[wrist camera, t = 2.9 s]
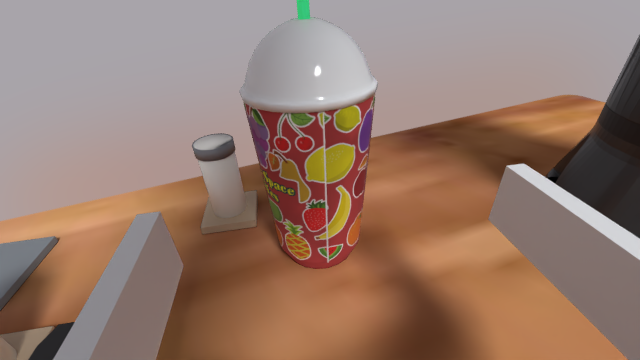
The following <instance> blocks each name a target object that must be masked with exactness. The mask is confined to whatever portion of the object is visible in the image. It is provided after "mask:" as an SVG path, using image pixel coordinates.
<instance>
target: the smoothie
mask: <svg viewBox="0 0 640 360" xmlns="http://www.w3.org/2000/svg"><path fill="white" fill-rule="evenodd" d="M297 10H298V18H296V19H291V20H289V21H287V22H285V23H283V24H281V25H279V26H278V27H276V28H275V29H273V30H272V31H270V32H269V33H268V34H267V35H266V36H265V37H264V38H263V39H262V40H261V42H260V43H259V45H258V46H257V48H256V49H255V51H254V53H253V55H252V57H251V59H250V62H249V65H248V70H247V73H246V78H245V83H244V85H243V86H242V87H241V89H240V94H241V97H242V99H243V101H244V106H245V111H246V115H247V118H248V122H249V126H250V130H251V134H252V138H253V142H254V145H255V149H256V153H257V157H258V161H259V165H260V169H261V172H262V176H263V180H264V184H265V188H266V192H267V196H268V200H269V203H270V207H271V211H272V215H273V219H274V223H275V227H276V230H277V234H278V238H279V242H280V244H281V247H282V249H283V250H284V251H285V252H286V253H287V254H288V255H289V256H290V257H291V258H292V259H293V260H294V261H295V262H296V263H298V264H300V265H302V266H304V267H309V268H314V269H320V268H329V267H332V266H334V265H337V264H339V263H341V262H342V261H343V260H345V259H346V258H347V257H348V255H349V254H350V252H351V251H352V250H353V249H354V247H355V246H356V244H357V243H358V240H359V235H360V227H361V218H362V209H363V201H364V192H365V183H366V174H367V165H368V156H369V147H370V138H371V130H372V120H373V112H374V103H375V92H376V90H377V85H378V82H377V81H376V79H375V78H374V76H372V75H371V72H370V69H369V66H368V64H367V61H366V59H365V56H364V54H363V53H362V51H361V49H360V48H359V46H358V45H357V43H356V42H355V41H354V40H353V39H352V38H351V36H350V35H349V34H348V33H346V32H345V31H344V30H343V29H341V28H340V27H338V26H336V25H334V24H333V23H330V22H328V21H325V20H322V19H319V18H315V17H310V10H309V0H297Z"/></svg>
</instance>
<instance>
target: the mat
mask: <svg viewBox="0 0 640 360" xmlns="http://www.w3.org/2000/svg"><path fill="white" fill-rule="evenodd" d="M57 242H58V240H57V239H56V237H55V236H54V237H46V238H39V239H32V240H25V241H17V242H10V243H3V244H0V310H1V309H2V308H3V307H4V306H5V304H6V303H7V302H8V301H9V300H10V298H11V297H12V296H13V295H14V294H15V292H16V291H17V290H18V289H19V288H20V286H21V285H22V284H23V283H24V282H25V280H26V279H27V278H28V277H29V276H30V274H31V273H32V272H33V271H34V270H35V268H36V267H37V266H38V265H39V264H40V262H41V261H42V260H43V259H44V258H45V256H46V255H47V254H48V253H49V252H50V250H51V249H52V248H53V247H54V246H55V244H56V243H57Z"/></svg>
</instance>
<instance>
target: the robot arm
mask: <svg viewBox="0 0 640 360" xmlns="http://www.w3.org/2000/svg"><path fill="white" fill-rule="evenodd" d="M488 220H489V221H490V222H491V223H492V224H493V225H494V226H495V227H496V228H497V229H498V230H499V231H500V232H501V233H502V234H503V235H504V236H505V237H506V238H507V239H508V240H509V241H510V242H511V243H512V244H513V245H514V246H515V247H516V248H517V249H518V250H519V251H520V252H521V253H522V254H523V255H524V256H525V257H526V258H527V259H528V260H529V261H530V262H531V263H532V264H533V265H534V266H535V267H536V268H537V269H538V270H539V271H540V272H541V273H542V274H543V275H544V276H545V277H546V278H547V279H548V280H549V281H550V282H551V283H552V284H553V285H554V286H555V287H556V288H557V289H558V290H559V291H560V292H561V293H562V294H563V295H564V296H565V297H566V298H567V299H568V300H569V301H570V302H571V303H572V304H573V305H574V306H575V307H576V308H577V309H578V310H579V311H580V312H581V313H582V314H583V315H584V316H585V317H586V318H587V319H588V320H589V321H590V322H591V323H592V324H593V325H594V326H595V327H596V328H597V329H598V330H599V331H600V332H601V333H602V334H603V335H604V336H605V337H606V338H607V339H608V340H609V341H610V342H611V343H612V344H613V345H614V346H615V347H616V348H617V349H618V350H619V351H620V352H621V353H622V354H623V355H624V356H625V357H626V358H627V359H628V360H640V35H639V37H638V39H637V41H636V43H635V45H634V47H633V49H632V52H631V53H630V55H629V57H628V59H627V61H626V63H625V65H624V67H623V69H622V71H621V73H620V75H619V77H618V79H617V81H616V83H615V85H614V87H613V89H612V91H611V93H610V95H609V97H608V99H607V102H606V104H605V106H604V108H603V110H602V112H601V114H600V116H599V118H598V120H597V122H596V124H595V125H594V127H593V128H592V129H591V131H590V132H589V133H588V134H587V135H586V136H585V137H584V138H583V139H582V140H581V141H580V142H579V143H578V144H577V145H576V146H575V147H574V148H573V149H572V150H571V151H570V152H569V153H568V154H567V155H566V156H565V157H564V158H563V159H562V160H561V161H560V162H559V163H558V164H557V165H556V166H555V167H554V168H553V169H552V170H551V171H550V172H549V173H548V174H547V175H546V177H544V176H542V175H541V174H539V173H538V172H536V171H535V170H533V169H532V168H530V167H529V166H527V165H525V164H516V165H509V166H506V168H505V171H504V174H503V177H502V180H501V183H500V186H499V189H498V192H497V195H496V198H495V201H494V204H493V207H492V210H491V213H490V216H489V219H488ZM183 267H184V265H183V263H182V261H181V258H180V256H179V254H178V251H177V249H176V247H175V245H174V242H173V240H172V238H171V235H170V233H169V231H168V229H167V226H166V224H165V222H164V219H163V217H162V215H161V213H160V212H153V213H146V214H138V215H136V217H135V219H134V221H133V222H132V224H131V226H130V227H129V229H128V231H127V233H126V234H125V236H124V238H123V240H122V241H121V243H120V245H119V246H118V248H117V250H116V252H115V253H114V255H113V257H112V259H111V260H110V262H109V264H108V266H107V267H106V269H105V271H104V272H103V274H102V276H101V278H100V279H99V281H98V283H97V285H96V286H95V288H94V290H93V291H92V293H91V295H90V297H89V298H88V300H87V302H86V304H85V305H84V307H83V309H82V310H81V312H80V314H79V316H78V317H77V319H76V321H75V322H72V323H66V324H60V325H58V326H57V327H56V328H55V329H54V330H53V331H52V332H51V333H50V334H49V335H48V336H47V337H46V338H45V339H44V340H43V341H42V342H40V343H39V344H38V345H37V347H36V348H35V350H34V351H33V353H32V354H31V356H30V358H29V359H28V360H156V358H157V354H158V351H159V348H160V344H161V341H162V337H163V334H164V331H165V327H166V324H167V321H168V317H169V314H170V310H171V307H172V304H173V300H174V297H175V294H176V290H177V287H178V283H179V280H180V277H181V273H182V270H183Z"/></svg>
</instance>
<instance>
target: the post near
mask: <svg viewBox="0 0 640 360" xmlns="http://www.w3.org/2000/svg"><path fill="white" fill-rule="evenodd" d="M54 329H55V327H54V326H50V327H44V328H38V329H32V330H26V331H20V332H14V333H8V334H2V335H0V360H28V359H29V358H30V356H31V354H32V353H33V351H34V350H35V348H36V347H37V345H38V344H39V343H40V342H42V341H43V340H44V339H45V338H46V337H47V336H48V335H49V334H50V333H51V332H52V331H53V330H54Z"/></svg>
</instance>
